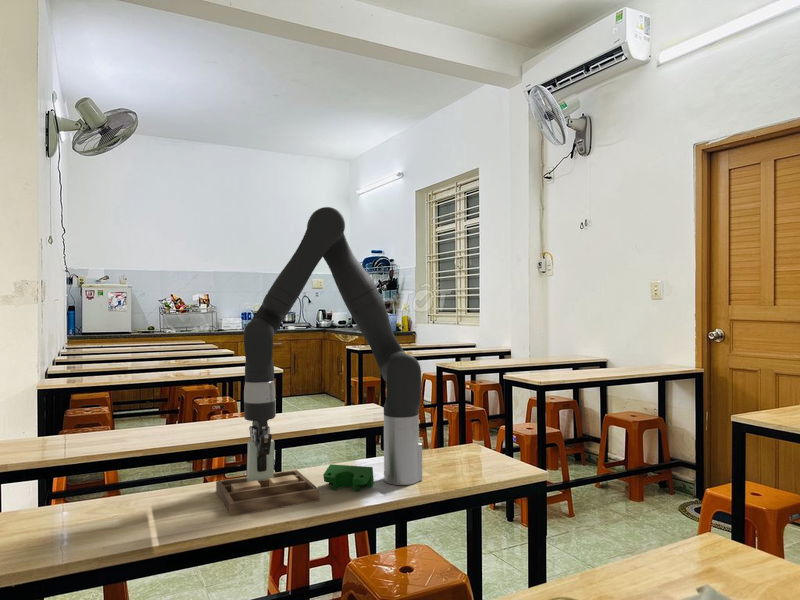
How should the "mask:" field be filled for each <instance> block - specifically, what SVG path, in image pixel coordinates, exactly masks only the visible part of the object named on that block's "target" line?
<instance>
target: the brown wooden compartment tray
mask: <svg viewBox="0 0 800 600" xmlns="http://www.w3.org/2000/svg"><path fill="white" fill-rule="evenodd" d="M289 475H294V476H295V477H296V478H297V479H298V482H295V483H288V484H282V485H275V486H269V479H265V480H259V481H258V482H259V483H260V485H261V488H256V489H249V490H243V491H236V492H231V484H235V483H242V482H247V476H243V477H237V478H229V479H223V480H222V479H221V480H216V481H215V484H216V485H215V491H216V494H217V496H218V497H219V499H220V501H221V503H222V505H223V506H224V508H225V510H226V511H227V514H228V515H229V517H231V516H232V517H233V516H238V515H243V514H250V513H254V512H260V511H267V510H272V509H273V510H274V509H278V508H279V509H280V508H284V507H290V506H295V505H301V504H302V505H303V504H307V503H313V502H319V501H320V489H319V488H318V487H317V486H316V485H315V484H313V483H312V482H311V481H310V480H309V479H308V478H307V477H306V476H305V475H303V474H302V473H301V472H299V470H297V469H293V470H291V469H290V470H286V471H285V470H284V471H279V472H274V478H276V477H283V476H289Z"/></svg>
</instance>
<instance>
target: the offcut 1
mask: <svg viewBox="0 0 800 600" xmlns="http://www.w3.org/2000/svg"><path fill="white" fill-rule="evenodd" d="M256 488H261V485H260V483H259V482H258V481H257V480H255V481H249V482H242V483H235V484H231V492H236V491H243V490H249V489H256Z"/></svg>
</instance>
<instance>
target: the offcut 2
mask: <svg viewBox="0 0 800 600" xmlns="http://www.w3.org/2000/svg"><path fill="white" fill-rule="evenodd" d="M295 482H298V479H297V478H296V477H295V476H294V475H289V476H283V477H276V478H269V486H275V485H282V484H288V483H295Z"/></svg>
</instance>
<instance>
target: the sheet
mask: <svg viewBox="0 0 800 600" xmlns="http://www.w3.org/2000/svg"><path fill="white" fill-rule="evenodd" d="M257 443H259V442H257ZM262 450H265V448H263V449H262ZM256 453H257V447H255V445H254V441H251V440H248V441H247V456H246V457H247V458H246V460H247V461H246V477H247V482H249V481H255V480H257V481H259V480H265V479H269V478H274V473H275V470H274V469H275V440H274V439H272V438H271V445H270V453H269V454H268V455H267V470H266V471H263V472H258V471H257V455H256Z"/></svg>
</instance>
